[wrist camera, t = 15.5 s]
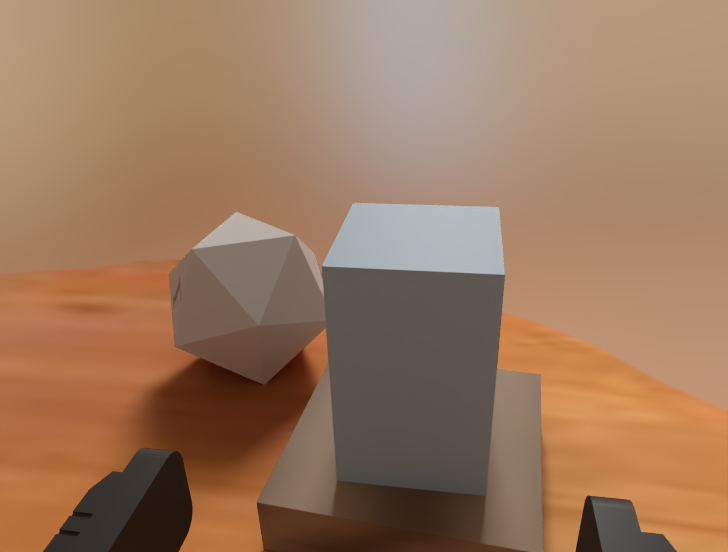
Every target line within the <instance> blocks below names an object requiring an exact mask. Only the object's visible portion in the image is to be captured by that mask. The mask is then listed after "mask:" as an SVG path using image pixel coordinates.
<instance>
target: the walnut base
mask: <svg viewBox="0 0 728 552" xmlns="http://www.w3.org/2000/svg"><path fill="white" fill-rule="evenodd" d="M257 508H258V514H259V521H260V528H261V534H262V541H263V548H264V549H266V550H271V551H276V552H543V513H542V444H541V375H540V374H532V373H524V372H515V371H507V370H498V369H497V373H496V385H495V397H494V409H493V420H492V432H491V444H490V456H489V467H488V479H487V491H486V496H480V495H470V494H460V493H451V492H441V491H431V490H421V489H412V488H402V487H392V486H382V485H372V484H363V483H353V482H343V481H337V475H336V461H335V447H334V433H333V418H332V404H331V390H330V375H329V363H328V365H327V367H326V368H325V370H324V372H323V374H322V376H321V378H320V380H319V382H318V384H317V386H316V388H315V390H314V392H313V394H312V396H311V398H310V400H309V402H308V403H307V405H306V407H305V409H304V411H303V413H302V415H301V417H300V419H299V421H298V423H297V425H296V427H295V429H294V431H293V433H292V435H291V437H290V439H289V440H288V442H287V444H286V446H285V448H284V450H283V452H282V454H281V456H280V458H279V460H278V462H277V464H276V466H275V468H274V470H273V472H272V474H271V476H270V477H269V479H268V481H267V483H266V485H265V487H264V489H263V491H262V493H261V495H260V497H259V499H258V501H257Z"/></svg>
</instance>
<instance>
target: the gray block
mask: <svg viewBox="0 0 728 552" xmlns="http://www.w3.org/2000/svg"><path fill="white" fill-rule="evenodd" d="M322 275H323V290H324V304H325V318H326V333H327V347H328V361H329V375H330V390H331V404H332V418H333V433H334V447H335V461H336V475H337V481H343V482H353V483H363V484H372V485H382V486H392V487H402V488H412V489H421V490H431V491H441V492H451V493H460V494H470V495H480V496H486V491H487V479H488V467H489V456H490V444H491V432H492V420H493V409H494V397H495V385H496V373H497V362H498V350H499V338H500V326H501V315H502V303H503V290H504V279H505V271H504V259H503V248H502V238H501V227H500V214H499V207H474V206H440V205H406V204H370V203H353V205H352V207H351V209H350V211H349V213H348V215H347V217H346V219H345V221H344V223H343V225H342V227H341V229H340V231H339V233H338V235H337V237H336V239H335V241H334V243H333V245H332V247H331V249H330V251H329V253H328V255H327V257H326V259H325V261H324V263H323V265H322Z"/></svg>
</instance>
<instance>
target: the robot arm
mask: <svg viewBox="0 0 728 552" xmlns="http://www.w3.org/2000/svg"><path fill="white" fill-rule="evenodd" d="M191 520H192V501H191V496H190V491H189V487H188V482H187V478H186V473H185V468H184V464H183V459H182V456H181V454H180V453H179V452H177V451H168V450H158V449H149V448H142V449H140V450H139V451H138V452H137V453H136V454H135V455H134V457H133V458H132V459H131V461H130V462H129V464H128V465H127V467H126V468H125V469H124V471H123V472H114V471H113V472H111V473H110V474H109V475H107V476H106V477H105V478H104V479H102V480H101V481H100V482H98V483H97V484H96V485H95V486H93V487H92V488H91V489H89V491H88V492H87V493H86V495H85V496H84V497H83V499H82V500H81V501H80V503H79V504H78V505H77V507H76V508H75V509H74V511H73V515H72V516H69V518H68V519H67V520H66V522H65V523H64V524H63V526H62V527H61V528H60V532H59V534H56V535H55V536H54V538H53V539H52V540H51V542H50V543H49V544H48V546H47V547H46V548H45V550H44V551H43V552H179V550H180V548H181V546H182V544H183V542H184V540H185V538H186V536H187V534H188V531H189V528H190V524H191ZM576 552H677V551H676V550H675V549H674V548H673V546H672V545H671V544H670V543H669V541H668V540H667V539H666V537H665V536H664V535H663V534H655V533H646V532H641V530H640V527H639V523H638V520H637V516H636V512H635V509H634V506H633V504H632V502H631V501H630V500H625V499H616V498H606V497H596V496H587V497H586V500H585V504H584V509H583V514H582V520H581V525H580V531H579V536H578V541H577V547H576Z"/></svg>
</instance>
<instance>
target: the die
mask: <svg viewBox="0 0 728 552" xmlns="http://www.w3.org/2000/svg"><path fill="white" fill-rule="evenodd" d="M169 280H170V293H171V305H172V318H173V330H174V343H175V347H177V348H179V349H181V350H184V351H186V352H188V353H191V354H193V355H195V356H198V357H200V358H202V359H205V360H207V361H209V362H212V363H214V364H216V365H219V366H221V367H223V368H226V369H228V370H230V371H233V372H235V373H237V374H240V375H242V376H244V377H246V378H249V379H251V380H253V381H256V382H258V383H260V384H263V385H265V384H266V383H267V382H268V381H269V380H270V379H271V378H272V377H273V376H275V375H276V374H277V373H278V372H279V371H280V370H281V369H282V368H283V367H284V366H285V365H286V364H287V363H288V362H290V361H291V360H292V359H293V358H294V357H295V356H296V355H297V354H298V353H299V352H300V351H301V350H302V349H304V348H305V347H306V346H307V345H308V344H309V343H310V342H311V341H312V340H313V339H314V338H315V337H316V336H317V335H319V334H320V333H321V332H322V331H323V330H324V329H325V328H326V318H325V304H324V290H323V281H322V278H321V274H320V271H319V268H318V264H317V261H316V258H315V254H314V253H313V252H312V251H311V250H310V249H309V248H308V247H307V246H306V245H305V244H304V243H303V242H302V241H301V240H300V239H298V238H297V237H296V236H295V235H293V234H291V233H288V232H286V231H283V230H280V229H278V228H275V227H273V226H270V225H268V224H265V223H263V222H260V221H258V220H255V219H253V218H250V217H248V216H245V215H243V214H240V213H238V212H236V213H234V214H233V215H232V216H231V217H230V218H229V219H227V220H226V221H225V222H224V223H222V224H221V225H220V226H219V227H218V228H216V229H215V230H214V231H213V232H212V233H210V234H209V235H208V236H207V237H206V238H204V239H203V240H202V241H201V242H200V243H198V244H197V245H196V246H195V247H194V248H192V249H191V250H190V252H189V253H188V254H187V255H186V256H185V257H184V258H183V259H182V260H181V261H180V263H179V264H178V265H177V266H176V267H175V268H174V269H173V270H172V271H171V272H170V274H169Z"/></svg>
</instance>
